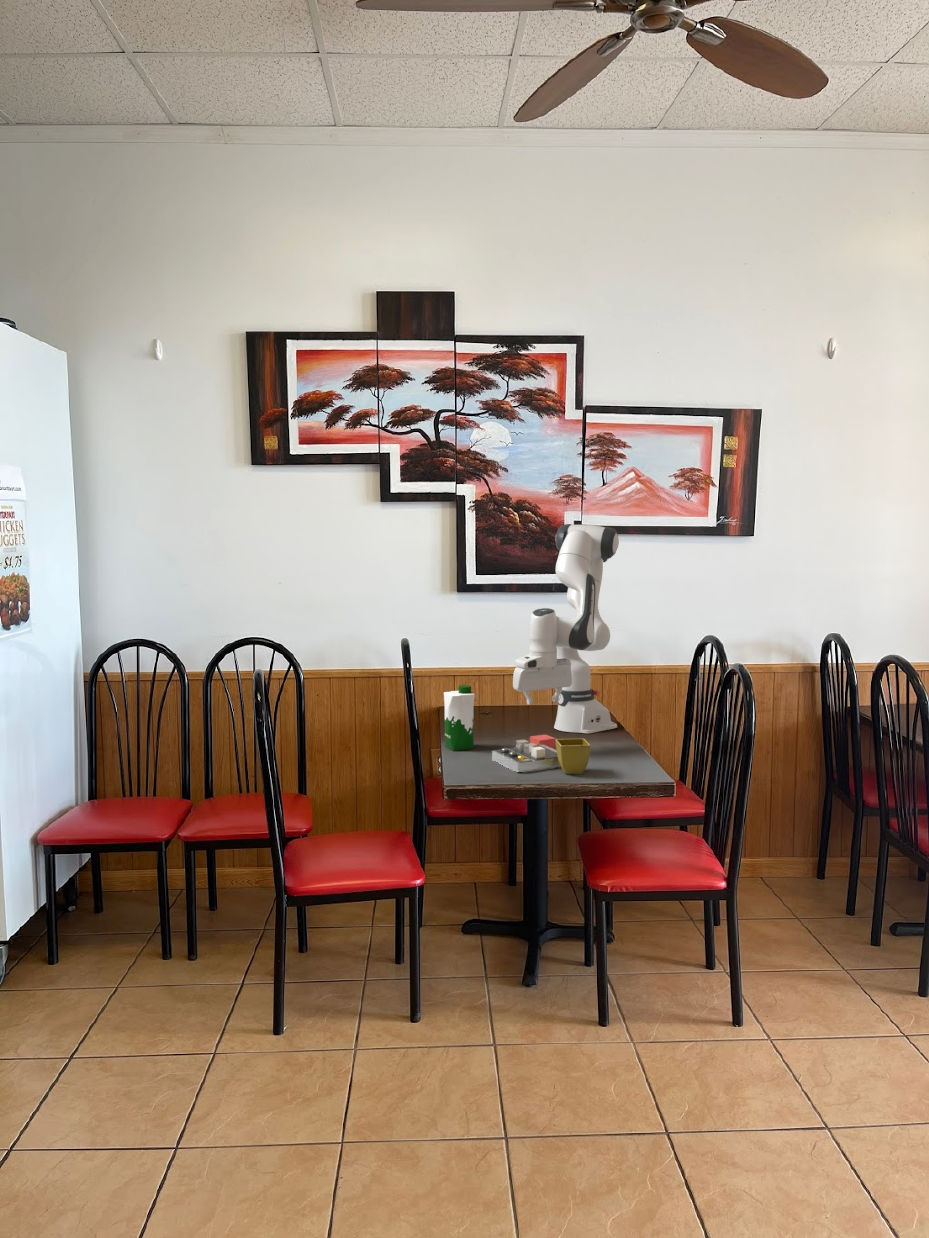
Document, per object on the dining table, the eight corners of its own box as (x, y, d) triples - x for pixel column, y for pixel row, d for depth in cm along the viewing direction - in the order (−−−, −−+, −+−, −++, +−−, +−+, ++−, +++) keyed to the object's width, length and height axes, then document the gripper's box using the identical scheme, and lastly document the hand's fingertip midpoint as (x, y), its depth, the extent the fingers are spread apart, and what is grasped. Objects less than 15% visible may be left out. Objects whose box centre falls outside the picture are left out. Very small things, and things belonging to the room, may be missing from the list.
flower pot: (554, 768, 270) (555, 738, 269) (583, 767, 271) (584, 737, 270) (560, 776, 262) (560, 745, 261) (590, 775, 262) (590, 745, 261)
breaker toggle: (539, 754, 273) (540, 746, 273) (545, 757, 270) (545, 748, 270) (531, 755, 272) (531, 747, 272) (536, 758, 269) (536, 749, 269)
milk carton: (477, 749, 293) (477, 687, 291) (451, 752, 290) (451, 690, 287) (466, 743, 301) (466, 683, 299) (441, 745, 298) (440, 685, 296)
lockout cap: (545, 745, 297) (545, 734, 297) (555, 750, 292) (555, 738, 291) (529, 748, 294) (529, 736, 294) (539, 752, 289) (539, 740, 289)
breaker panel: (542, 753, 287) (542, 735, 287) (570, 765, 273) (570, 747, 272) (492, 760, 279) (492, 742, 279) (517, 773, 265) (517, 754, 264)
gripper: (565, 656, 297) (565, 698, 299) (510, 660, 288) (510, 703, 290) (576, 658, 292) (575, 701, 293) (520, 663, 283) (520, 707, 284)
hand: (542, 702), depth 291 cm, fingers open, 8 cm apart
